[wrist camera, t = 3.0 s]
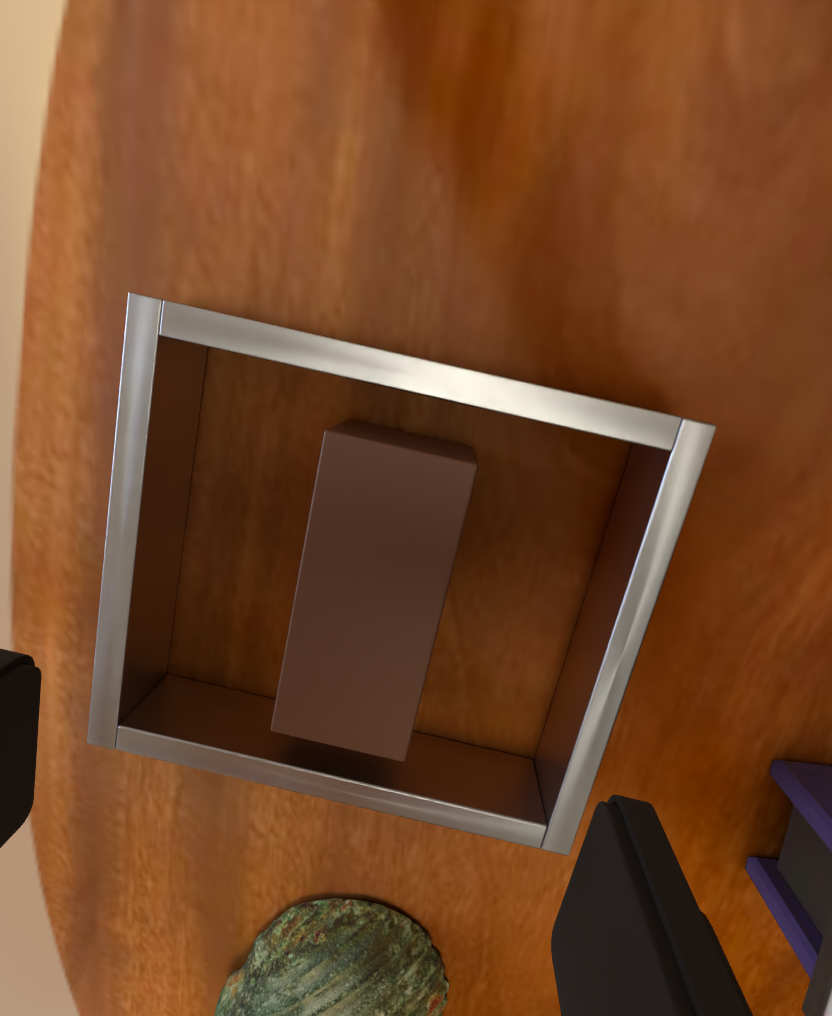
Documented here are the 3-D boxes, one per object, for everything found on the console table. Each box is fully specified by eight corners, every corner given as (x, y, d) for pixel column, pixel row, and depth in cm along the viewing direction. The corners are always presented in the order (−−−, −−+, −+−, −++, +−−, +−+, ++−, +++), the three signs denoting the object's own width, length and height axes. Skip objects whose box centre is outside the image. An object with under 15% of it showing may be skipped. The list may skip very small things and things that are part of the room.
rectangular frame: (140, 689, 23) (86, 744, 20) (184, 305, 19) (127, 291, 16) (551, 785, 23) (569, 857, 19) (671, 416, 19) (718, 425, 16)
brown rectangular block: (301, 669, 22) (269, 731, 18) (349, 418, 20) (323, 429, 16) (412, 695, 22) (404, 763, 18) (473, 447, 20) (479, 464, 16)
